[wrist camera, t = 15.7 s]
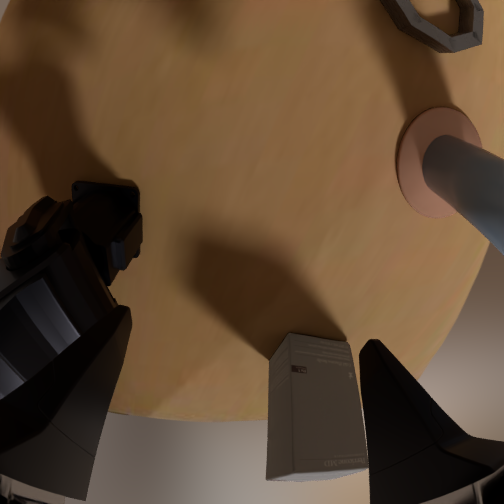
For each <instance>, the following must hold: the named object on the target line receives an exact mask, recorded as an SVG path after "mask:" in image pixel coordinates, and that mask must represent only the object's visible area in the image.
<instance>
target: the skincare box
mask: <svg viewBox="0 0 504 504" xmlns="http://www.w3.org/2000/svg"><path fill="white" fill-rule="evenodd" d="M367 468H369V466H368V456H367V447H366V439H365V431H364V424H363V417H362V410H361V403H360V397H359V391H358V385H357V379H356V374H355V368H354V363H353V357H352V353H351V348H350V345H349V344H348V342H344V341H334V340H327V339H322V338H316V337H311V336H305V335H299V334H293V333H288V334H287V336H286V337H285V339H284V340H283V342H282V343H281V345H280V346H279V348H278V349H277V350H276V352H275V353H274V355H273V356H272V357H271V359H270V360H269V393H268V441H267V466H266V480H267V481H296V482H302V481H317V480H330V479H336V478H339V477H343V476H347V475H351V474H354V473H357V472H361V471H363V470H366V469H367Z"/></svg>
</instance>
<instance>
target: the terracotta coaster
mask: <svg viewBox="0 0 504 504" xmlns="http://www.w3.org/2000/svg"><path fill="white" fill-rule="evenodd" d="M441 135H452V136H455V137H457V138H459V139H462V140H464V141H467V142H469V143H471V144H473V145H476V146H478V147H480V148H482V144H481V140H480V137H479V134H478V132H477V130H476V128H475V127H474V125H473V124H472V122H471V121H470V120H469V119H468V118H467V117H466V116H465V115H463V114H462V113H460V112H459V111H457V110H454V109H451V108H446V107H435V108H431V109H428V110H426V111H424V112H423V113H421V114H420V115H418V116H417V117H416V118H415V119H414V120H413V121H412V122H411V124H410V125H409V127H408V128H407V130H406V132H405V133H404V135H403V138H402V140H401V143H400V147H399V151H398V157H397V176H398V182H399V185H400V189H401V191H402V194H403V196H404V197H405V199H406V201H407V202H408V203H409V204H410V205H411V206H412V207H413V208H414V209H415V210H416V211H417V212H419V213H420V214H422V215H424V216H426V217H430V218H444V217H448V216H450V215H452V214H454V213H456V212H457V211H456V210H455V209H454V208H452V207H451V206H450V205H449V204H448V203H446V202H445V201H444V200H443V199H441V198H440V197H439V196H438V195H436V194H435V193H434V192H432V191H431V190H430V189H429V188H428V186H427V185H426V183H425V181H424V177H423V172H422V164H423V158H424V154H425V152H426V150H427V148H428V146H429V145H430V143H431V142H432V141H433V140H434V139H436V138H437V137H439V136H441Z"/></svg>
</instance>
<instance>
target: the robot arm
mask: <svg viewBox="0 0 504 504" xmlns="http://www.w3.org/2000/svg"><path fill="white" fill-rule="evenodd" d="M76 186H78V189H77V187H76ZM131 192H134V193H135V196H133V195H132V194H131ZM72 198H73V202H72V201H71V200H67V201H64V202H58V203H57V201H54V200H53V199H52V198H50V197H49V196H45V197H42V198H41V199H39V200H38V201H37V202H36V203H34V204H33V205H32V206H30V207H29V208H28V209H27V210H26V211H25V213H24V214H23V215H22V216H20V217H19V218H18V220H17V222H16V223H14V224H13V225H12V226H10V227H9V228H8V230H7V233H6V237H5V240H4V244H3V248H2V252H1V257H2V258H1V259H0V504H64V502H65V496H66V497H70V498H74V499H78V500H83V501H86V497H87V492H88V486H89V482H90V477H91V473H92V468H93V464H94V460H95V455H96V451H97V447H98V444H99V440H100V436H101V433H102V429H103V425H104V422H105V419H106V415H107V412H108V409H109V405H110V402H111V399H112V396H113V393H114V390H115V387H116V384H117V381H118V378H119V375H120V372H121V369H122V366H123V362H124V358H125V354H126V349H127V345H128V341H129V337H130V333H131V329H132V318H131V311H130V308H129V307H128V306H124V305H118V303H117V301H116V299H115V298H113V296H112V295H111V293H110V291H109V289H108V287H107V286H110V285H111V284H112V282H113V280H114V279H115V277H116V275H117V273H118V272H119V270H123V271H124V270H125V269H126V268H127V267H128V265H129V263H130V262H131V260H132V258H137V257H138V256H139V254H140V245H141V243H142V241H143V232H142V215H141V213H140V192H139V190H138V189H137V188H136V187H130V186H122V185H113V184H104V183H95V182H85V181H76V182H74V183H73V184H72ZM359 366H360V387H361V396H362V403H363V411H364V420H365V429H366V439H367V450H368V464H369V482H370V483H369V484H370V504H504V442H502V441H495V440H488V439H482V438H476V437H473V436H471V435H468V434H467V433H466V432H465V431H464V430H462V429H461V428H460V427H459V426H458V425H457V424H456V423H455V422H454V421H453V420H452V419H451V418H450V417H449V416H448V415H447V414H446V413H445V412H444V411H443V410H442V409H441V407H439V405H438V404H437V403H436V402H435V401H434V400H433V398H431V396H430V395H429V394H428V393H427V392H426V391H425V389H424V388H423V387H422V386H421V385H420V384H419V383H418V382H417V380H416V379H415V378H414V377H413V376H412V375H411V374H410V373H409V372H408V370H407V369H406V368H405V367H404V366H403V365H402V364H401V363H400V362H399V361H398V359H397V358H396V357H395V356H394V355H393V354H392V353H391V352H390V351H389V350H388V349H387V347H386V346H385V345H384V344H383V343H382V342H381V341H380V340H378V339H370V340H368V341H367V343H366V344H365V345H364V347H363V348H362V349H361V351H360V353H359Z"/></svg>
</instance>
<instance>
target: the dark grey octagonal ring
mask: <svg viewBox="0 0 504 504" xmlns="http://www.w3.org/2000/svg"><path fill="white" fill-rule="evenodd" d="M380 1H381V3H382V4H383V6H384V7H385V9H386V10H387V12H388V13H389V15H390V16H391V18H392V19H393V21H394V22H395V24H396V26H397V27H398V29H399V30H401V31H403V32H405V33H407V34H409V35H411V36H412V37H414V38H416V39H418V40H419V41H421V42H423V43H424V44H426V45H428V46H429V47H431V48H432V49H434V50H436V51H437V52H439V53H455V52H458V51H461V50H464V49H468V48H471V47H474V46H478V45H481V44H482V35H483V15H484V11H483V9H482V7H481V5H480V3H479V1H478V0H456V2H457V3H458V5H459V7H460V20H459V31H458V33H456V34H452V35H447V34H446V33H445V32H443V31H442V30H440V29H439V28H437V27H436V26H434V25H433V24H431V23H429V22H428V21H426V20H425V19H423V18H421V17H420V16H419V15H418V13H417V12H416V10H415V8H414V7H413V5H412V4H411V2H410V1H409V0H380Z"/></svg>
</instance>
